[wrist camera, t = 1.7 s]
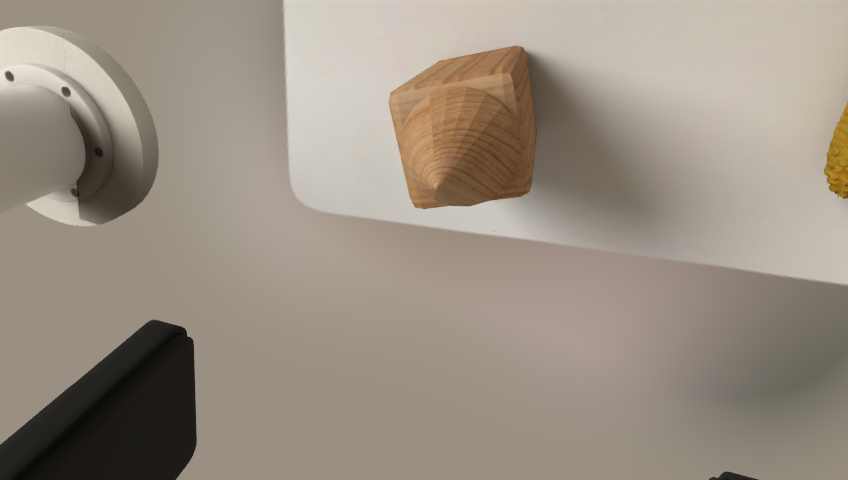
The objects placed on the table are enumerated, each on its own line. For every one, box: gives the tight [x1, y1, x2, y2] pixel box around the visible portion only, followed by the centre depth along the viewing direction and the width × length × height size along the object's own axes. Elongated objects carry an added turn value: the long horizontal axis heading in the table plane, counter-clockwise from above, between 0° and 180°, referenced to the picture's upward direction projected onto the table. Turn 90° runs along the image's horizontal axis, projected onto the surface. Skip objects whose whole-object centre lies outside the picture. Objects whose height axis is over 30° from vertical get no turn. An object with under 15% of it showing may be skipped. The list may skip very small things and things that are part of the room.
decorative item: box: [389, 46, 537, 209], centre depth 31 cm, size 7×7×20 cm
